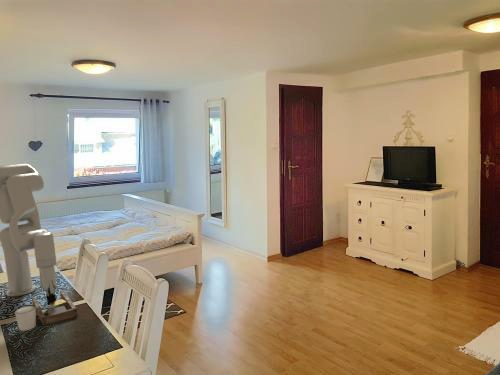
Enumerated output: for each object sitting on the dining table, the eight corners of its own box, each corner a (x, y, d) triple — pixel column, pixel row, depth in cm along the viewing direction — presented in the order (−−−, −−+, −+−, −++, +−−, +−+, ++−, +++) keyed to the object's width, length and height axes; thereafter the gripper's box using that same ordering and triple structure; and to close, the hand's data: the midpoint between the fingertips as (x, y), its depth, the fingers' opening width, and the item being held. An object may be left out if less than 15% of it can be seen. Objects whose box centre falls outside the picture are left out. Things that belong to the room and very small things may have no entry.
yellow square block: (50, 309, 169) (49, 302, 168) (62, 305, 172) (61, 298, 172) (55, 312, 165) (54, 305, 165) (67, 308, 169) (66, 301, 169)
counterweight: (48, 317, 162) (47, 310, 161) (64, 312, 165) (64, 305, 165) (51, 322, 157) (50, 315, 156) (67, 317, 160) (67, 310, 160)
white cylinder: (28, 331, 149) (26, 313, 148) (12, 331, 151) (10, 313, 150) (41, 323, 156) (39, 306, 155) (26, 322, 157) (24, 305, 156)
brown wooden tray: (32, 304, 175) (31, 297, 174) (63, 296, 182) (62, 289, 181) (42, 325, 154) (41, 317, 153) (77, 315, 161) (76, 308, 160)
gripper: (33, 260, 172) (39, 301, 175) (39, 268, 160) (45, 312, 163) (52, 256, 177) (57, 296, 179) (59, 263, 165) (65, 306, 167)
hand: (51, 303), depth 171 cm, fingers closed
